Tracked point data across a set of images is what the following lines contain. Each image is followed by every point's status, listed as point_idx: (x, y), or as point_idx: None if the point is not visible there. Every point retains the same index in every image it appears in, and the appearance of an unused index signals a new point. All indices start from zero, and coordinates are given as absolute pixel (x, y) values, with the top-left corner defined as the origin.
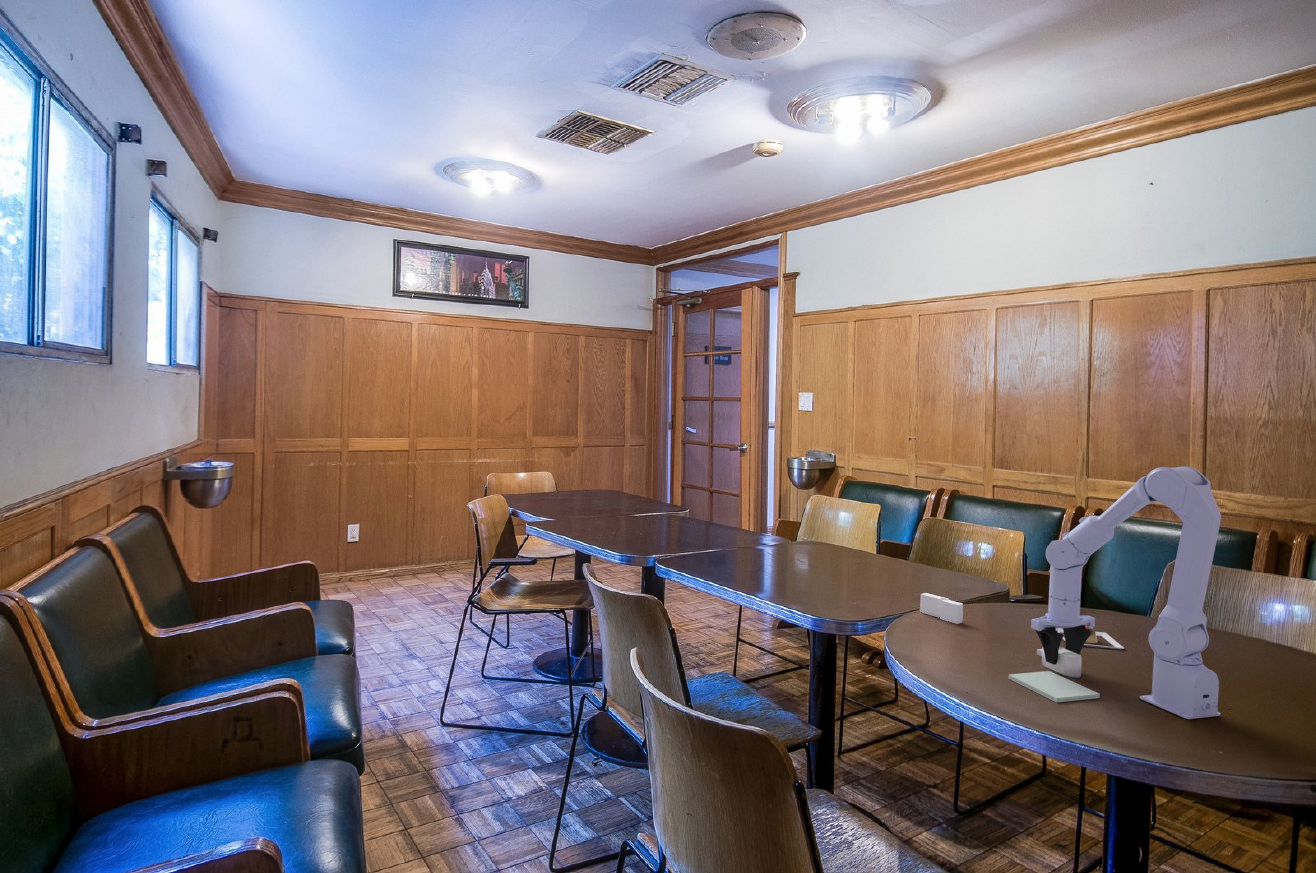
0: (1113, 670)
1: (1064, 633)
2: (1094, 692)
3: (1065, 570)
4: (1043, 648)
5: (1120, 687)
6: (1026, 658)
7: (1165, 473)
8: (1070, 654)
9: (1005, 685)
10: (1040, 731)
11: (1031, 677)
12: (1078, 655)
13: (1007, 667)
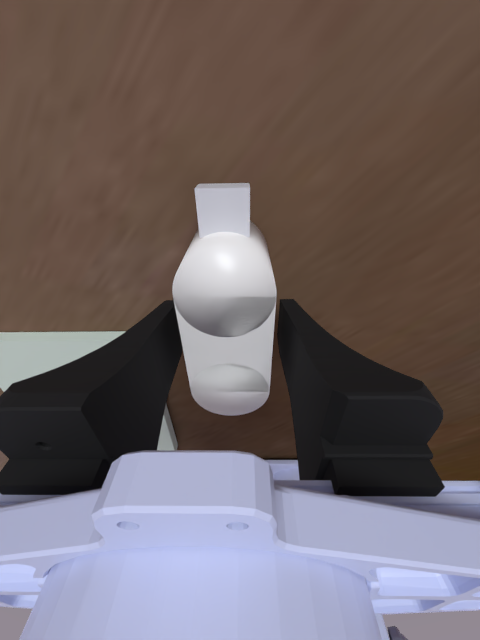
0: (422, 337)
1: (312, 368)
2: (169, 448)
3: None
4: (132, 328)
5: (287, 419)
6: (169, 131)
7: None
8: (231, 385)
9: None
10: None
11: (42, 370)
12: (256, 397)
13: (2, 238)
